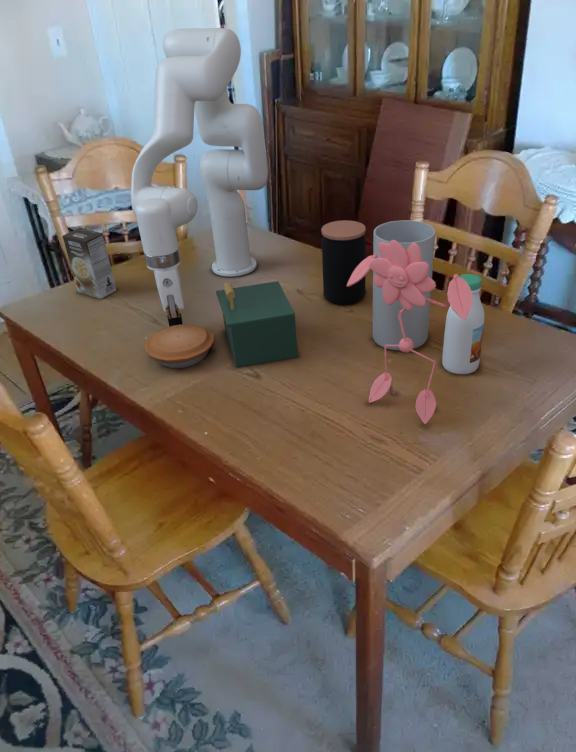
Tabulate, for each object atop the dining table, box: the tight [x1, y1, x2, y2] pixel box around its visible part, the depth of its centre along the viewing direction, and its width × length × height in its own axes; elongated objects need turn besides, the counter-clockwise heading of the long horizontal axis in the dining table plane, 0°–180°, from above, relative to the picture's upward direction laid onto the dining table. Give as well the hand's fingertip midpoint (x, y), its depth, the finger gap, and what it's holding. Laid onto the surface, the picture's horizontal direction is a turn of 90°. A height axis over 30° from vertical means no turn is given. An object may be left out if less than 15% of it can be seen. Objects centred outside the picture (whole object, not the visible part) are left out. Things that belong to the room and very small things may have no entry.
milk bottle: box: [441, 273, 486, 375], centre depth 134 cm, size 8×8×20 cm
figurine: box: [347, 240, 472, 446], centre depth 116 cm, size 15×26×35 cm, turn 48°
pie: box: [143, 323, 215, 369], centre depth 148 cm, size 15×16×5 cm
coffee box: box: [61, 227, 117, 300], centre depth 173 cm, size 9×6×16 cm
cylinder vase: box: [371, 219, 436, 352], centre depth 143 cm, size 12×12×25 cm
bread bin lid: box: [215, 280, 296, 328], centre depth 144 cm, size 15×17×5 cm
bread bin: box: [222, 314, 299, 368], centre depth 148 cm, size 14×17×10 cm
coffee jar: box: [320, 219, 367, 307], centre depth 162 cm, size 11×11×18 cm
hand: (177, 330), depth 156 cm, fingers closed
